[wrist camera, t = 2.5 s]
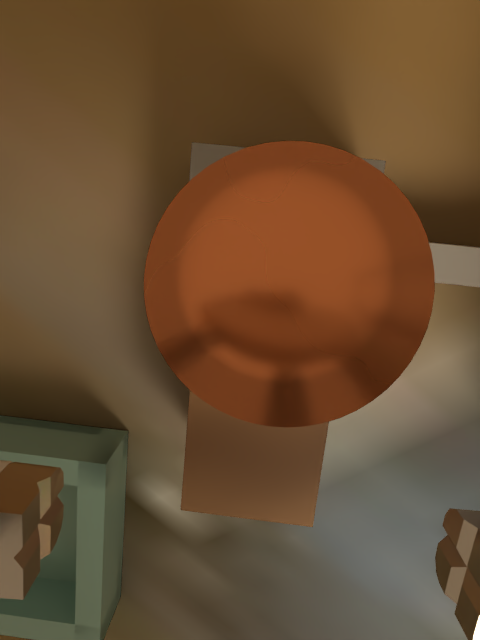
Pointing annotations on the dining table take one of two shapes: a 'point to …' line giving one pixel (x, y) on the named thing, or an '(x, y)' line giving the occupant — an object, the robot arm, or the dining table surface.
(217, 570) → the dining table surface
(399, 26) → the dining table surface
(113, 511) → the tray
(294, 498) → the block
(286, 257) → the pin
